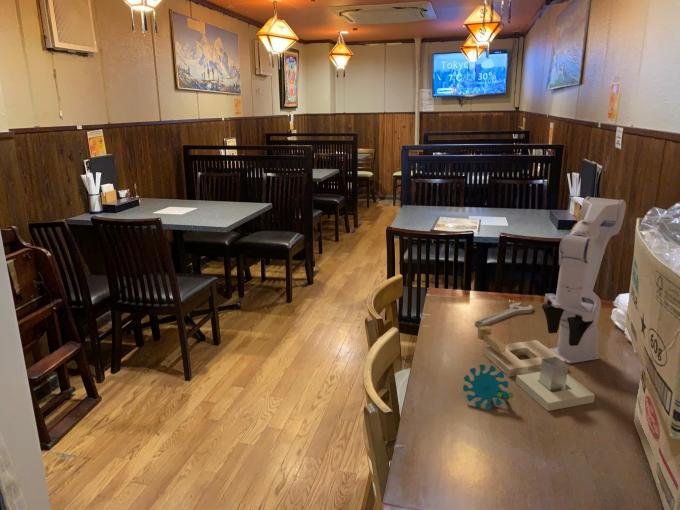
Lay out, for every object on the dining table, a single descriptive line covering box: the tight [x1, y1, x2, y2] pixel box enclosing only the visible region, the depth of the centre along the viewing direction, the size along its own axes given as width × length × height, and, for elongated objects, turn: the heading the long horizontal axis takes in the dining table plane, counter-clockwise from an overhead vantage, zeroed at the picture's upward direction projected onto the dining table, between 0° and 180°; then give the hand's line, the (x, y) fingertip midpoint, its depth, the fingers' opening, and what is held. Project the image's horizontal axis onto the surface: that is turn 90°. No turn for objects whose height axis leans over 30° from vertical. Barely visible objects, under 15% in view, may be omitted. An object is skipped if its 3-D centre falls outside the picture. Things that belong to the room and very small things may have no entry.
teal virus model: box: [462, 363, 514, 410], centre depth 115 cm, size 11×6×10 cm
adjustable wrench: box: [474, 301, 534, 328], centre depth 159 cm, size 25×6×2 cm, turn 120°
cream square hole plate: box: [515, 372, 596, 412], centre depth 117 cm, size 12×12×2 cm
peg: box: [539, 357, 569, 393], centre depth 116 cm, size 4×4×8 cm
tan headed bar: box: [477, 325, 506, 353], centre depth 133 cm, size 3×10×3 cm, turn 15°
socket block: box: [483, 339, 566, 377], centre depth 131 cm, size 16×12×2 cm
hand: (562, 338), depth 123 cm, fingers open, 7 cm apart
